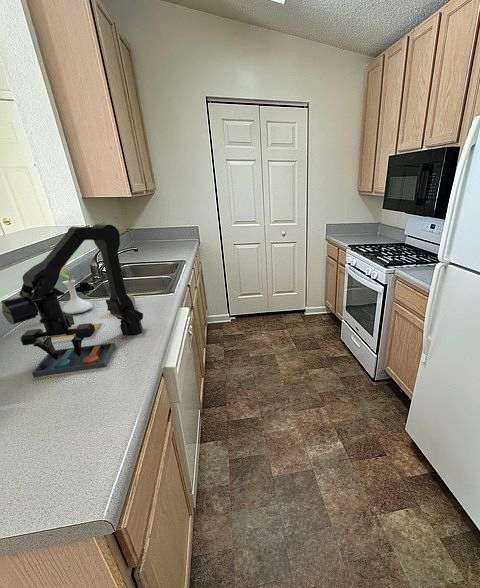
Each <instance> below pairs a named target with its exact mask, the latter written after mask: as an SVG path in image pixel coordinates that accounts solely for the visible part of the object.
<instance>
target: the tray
mask: <svg viewBox="0 0 480 588" xmlns="http://www.w3.org/2000/svg"><path fill="white" fill-rule="evenodd" d="M94 346H101V349H102V352H101V353H100V355H99V360H100V362H99V363H92V364H83V361H82V360H83V359H84V358H86V357H88V356H89V355H90V353H91V351H92V350H93V348H94ZM116 347H117V345H116V342H108V343H101V344H93V345H92V344H91V345H85V346H81V355H80V357H78V355H77V354H76V351H75V349H74V347H69V348H61V349H60V348H59V349H55V350H56V352H57V355H58V359H57V360H56V359H54V358H53V357H52V356H51V355H49V354H48V353H47V354H46V355H45V357H44V358H42V360H41V361H40V362H39V363H38V365H37V366H36V367H35V368H34V369H33V371H32V372H31V375H32V377H33V378H39V377H46V376H52V375H59V374H67V373H74V372H80V371H88V370H95V369H103V368H106V367H107V366H108V364H109V362H110V359H111V358H112V356H113V353H114V352H115V350H116ZM69 349H74V351H75V356H74V357H73V359H72V360H71V364H72V366H70V367H63V368H54V366H53V364H54V363H55V362H57V361H59V360H60V359H61V358H62V357H63V355H64V354H65V353H66V351H67V350H69Z"/></svg>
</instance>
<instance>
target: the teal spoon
mask: <svg viewBox="0 0 480 588" xmlns="http://www.w3.org/2000/svg"><path fill="white" fill-rule="evenodd" d="M74 356H75V351H74V349H69V350H67V351H66V353H65V354H64V355H63V357H62V358H61V359H60V360H59V361H57V362H55V363H54V364H53V366H54V368H63V367H70V366H72V364H71V360H72V359H73V357H74Z"/></svg>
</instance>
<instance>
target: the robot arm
mask: <svg viewBox="0 0 480 588" xmlns="http://www.w3.org/2000/svg"><path fill="white" fill-rule="evenodd" d="M120 235H121V233H120V231H119V229H118V227H116V226H115V225H113V224H107V223H95V224H94V225H93V226H74V225H73V226H70V227H69V228H68V230H67V232H66V233H65V234H64V236H63V237H62V238H61V240H59V241H58V242H57V244H56V245H55V246H54V248H53V249H52V250H51V251H50V252H49V254H48V255H47V256H46V257H45V258H44V259H43V260H42V261H41V262H39V263H37V264H35V265H33V266H32V267H31V268H29V269H28V270H27V271H25V273H24V274H23V275H22V277H21V278H22V279H21V280H22V286H21V289H20V291H19V294H18V296H17V297H14V298H9V299H8V298H7V299H2V300H1V301H0V303H1V313H2V315H3V317H4V318H5V319H6V321H7V322H8V324H10V325H17V324H20V323H23V322H26V321H29V320H33V319H36V318H37V316H39V318H40V319H39V323H40V324H43V327H44V329H45V331H44V330H43V329H41V328H37V329H34V328H33V329H27V330H26V331H25V332H24V333H23V334H22V335H21V336H20V338H19V339H20V342H21V345H22V346H30V345H33V347H38V348H39V349H41V350H42V351H44V352H45V353H47V354H49V355H51V356H52V357H53V358H54V359H56V360H57V359H58V355H57V352H56V350H57V349H55V345H54V344H53V340H51V337H60V336H68V335H73V336H74V337H72V339H71V343H72V347H73V348H74V349H75V351H76V354H77V355H78V357H80V355H81V347H82V342H83V340H84V339H89V338H92V336H94V335H93V333H94V332H95V327H94V325H93V324H94V323H92V322H90V323H88V322H87V323H80V324H78V325H77V326H78V327H77V328H75V329H69V327H73V326H76V324H75V319H74V314H70V315H69V314H68V315H67V313H65V312H64V311H63V308H62V306H61V303H60V301H59V298H58V297H60V296H65V292H64V291H61V290H59V289H57V288H56V285H57V284H58V282H59V279H60V275H59V274H60V271H61V269H62V268H63V266H64V265H65V264H66V263H67V264H68V261H69V260H70V259H71V258H72V257H73V255H74V254H75V253H76V252H77V250H78V249H79V248H80V247H81V245H82V244H83V243H84V242H85V241H93V242H94V244H95V246H96V247H97V248H98V251H100V253H101V257H102V262H103V266H104V270H105V275H106V278H107V283H108V287H109V292H110V296H109V298H108V299H107V298H106V299H105V304H106V307H107V311H109V313H110V315H112V316H114V317H116V319H117V320H120V325H119V328H120V330H121V335H122V336H128V337H132V336H137V335H140V334H143V332H144V327H143V323H142V320H143V319H144V313H143V312H141V311H140V310H138V309H136V307H135V308H134V305H133V303H132V300H131V299H130V298H129V296H128V295H129V294H128V293H127V290H126V285H125V281H124V276H123V272H122V267H121V266H122V265H121V261H120V257H119V249H120V245H121V236H120ZM67 264H66V265H67ZM95 333H96V332H95Z"/></svg>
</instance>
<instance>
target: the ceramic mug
mask: <svg viewBox="0 0 480 588" xmlns="http://www.w3.org/2000/svg"><path fill="white" fill-rule="evenodd" d="M127 295H128V296H129V298H130V299H131V300H132V303H133V305H134V308H135V309H136V305H137V304H136V299H135V296H134V295H132V294H127Z"/></svg>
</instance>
